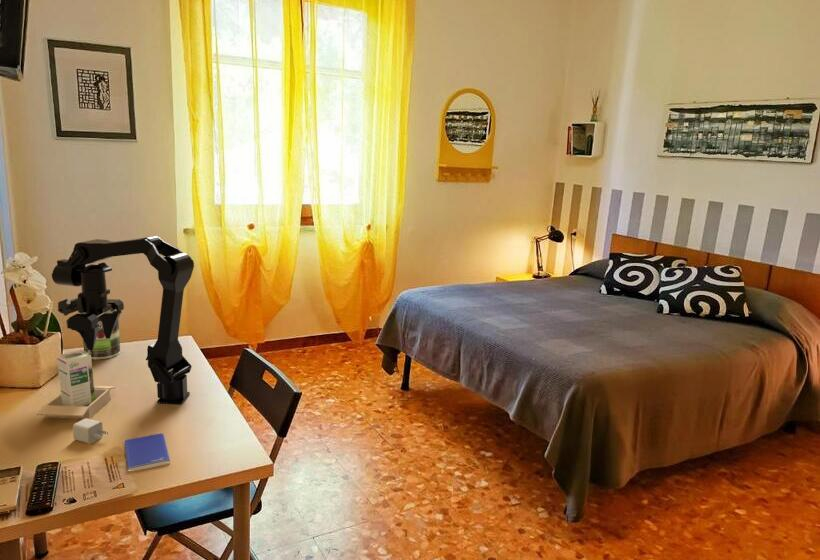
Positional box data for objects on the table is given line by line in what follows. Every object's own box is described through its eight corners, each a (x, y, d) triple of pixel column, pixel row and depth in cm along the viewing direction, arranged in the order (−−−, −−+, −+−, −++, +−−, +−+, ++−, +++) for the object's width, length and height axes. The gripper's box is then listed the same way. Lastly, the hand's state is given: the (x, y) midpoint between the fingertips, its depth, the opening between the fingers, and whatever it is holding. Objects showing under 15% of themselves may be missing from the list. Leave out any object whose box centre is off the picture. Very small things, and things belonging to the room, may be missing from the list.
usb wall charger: (88, 432, 131) (87, 417, 130) (112, 439, 129) (110, 423, 128) (73, 440, 127) (72, 424, 127) (97, 447, 125) (96, 431, 124)
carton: (115, 394, 151) (115, 383, 150) (83, 424, 135) (82, 412, 134) (75, 393, 150) (74, 382, 149) (37, 423, 134) (36, 410, 133)
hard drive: (170, 459, 120) (163, 432, 131) (127, 467, 117) (124, 439, 127) (170, 465, 121) (163, 438, 131) (127, 474, 117) (124, 446, 127)
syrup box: (72, 415, 138) (66, 360, 135) (61, 408, 142) (56, 354, 138) (96, 408, 143) (91, 354, 139) (85, 401, 146) (80, 348, 143)
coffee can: (121, 357, 176) (118, 314, 172) (83, 361, 171) (79, 317, 168) (120, 346, 184) (117, 305, 181) (84, 350, 180) (80, 307, 176)
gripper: (81, 279, 157) (87, 332, 161) (41, 296, 139) (48, 355, 142) (122, 280, 158) (127, 333, 161) (87, 297, 139) (93, 356, 143)
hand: (99, 343), depth 152 cm, fingers open, 9 cm apart
